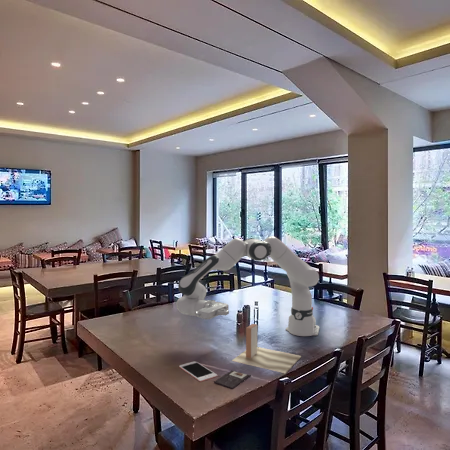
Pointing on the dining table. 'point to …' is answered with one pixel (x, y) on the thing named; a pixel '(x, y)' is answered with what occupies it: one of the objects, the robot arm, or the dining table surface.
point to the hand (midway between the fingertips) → (227, 313)
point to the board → (269, 360)
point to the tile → (251, 340)
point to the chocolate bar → (231, 379)
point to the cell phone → (198, 371)
